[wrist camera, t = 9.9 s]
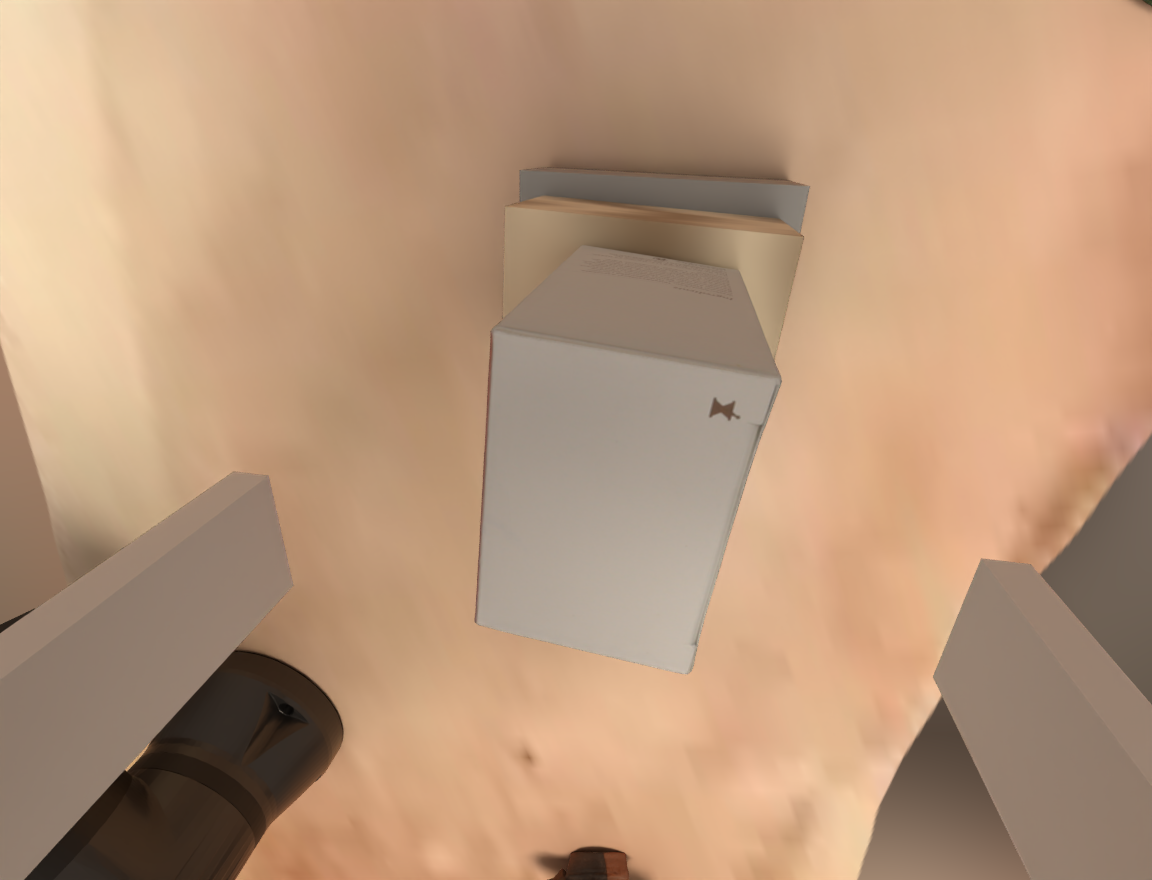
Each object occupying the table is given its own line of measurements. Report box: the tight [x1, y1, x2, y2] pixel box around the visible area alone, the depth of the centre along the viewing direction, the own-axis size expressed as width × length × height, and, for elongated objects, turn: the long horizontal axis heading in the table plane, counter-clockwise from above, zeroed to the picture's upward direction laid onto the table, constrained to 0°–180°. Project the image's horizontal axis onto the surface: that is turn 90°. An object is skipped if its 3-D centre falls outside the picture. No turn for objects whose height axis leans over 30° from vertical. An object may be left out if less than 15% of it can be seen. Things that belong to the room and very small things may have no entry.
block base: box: [520, 167, 810, 233], centre depth 30 cm, size 12×12×6 cm
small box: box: [475, 245, 782, 674], centre depth 17 cm, size 8×6×10 cm
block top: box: [502, 195, 804, 359], centre depth 24 cm, size 10×10×6 cm
